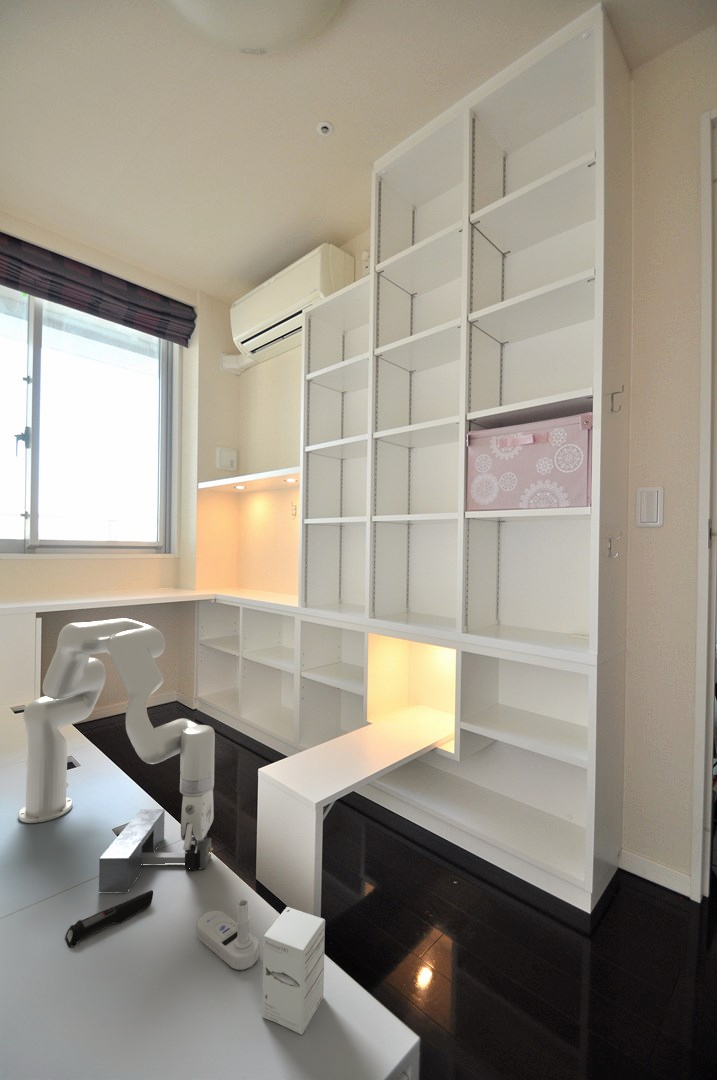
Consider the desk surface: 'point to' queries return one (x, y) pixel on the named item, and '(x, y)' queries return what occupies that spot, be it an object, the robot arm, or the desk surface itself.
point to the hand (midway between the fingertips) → (195, 861)
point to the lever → (180, 855)
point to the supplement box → (293, 969)
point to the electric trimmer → (107, 918)
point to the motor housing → (130, 850)
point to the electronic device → (230, 937)
